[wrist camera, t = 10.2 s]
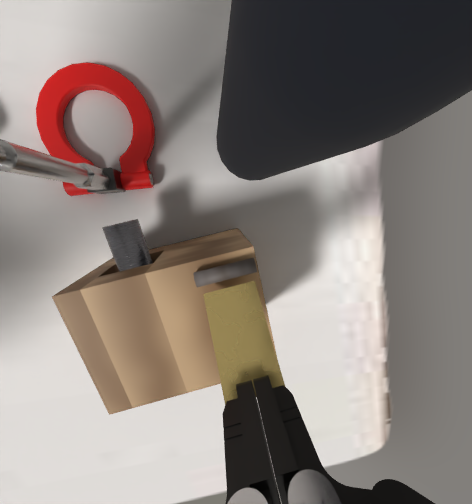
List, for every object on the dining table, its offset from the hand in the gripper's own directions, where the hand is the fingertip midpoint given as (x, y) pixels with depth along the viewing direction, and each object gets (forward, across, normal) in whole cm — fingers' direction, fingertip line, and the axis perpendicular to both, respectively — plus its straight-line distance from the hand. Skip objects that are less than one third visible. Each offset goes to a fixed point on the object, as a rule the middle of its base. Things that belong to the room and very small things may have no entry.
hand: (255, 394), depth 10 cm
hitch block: (+13, +4, -1) cm, 14 cm away
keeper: (+3, 0, -1) cm, 3 cm away
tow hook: (+13, +7, -15) cm, 22 cm away
